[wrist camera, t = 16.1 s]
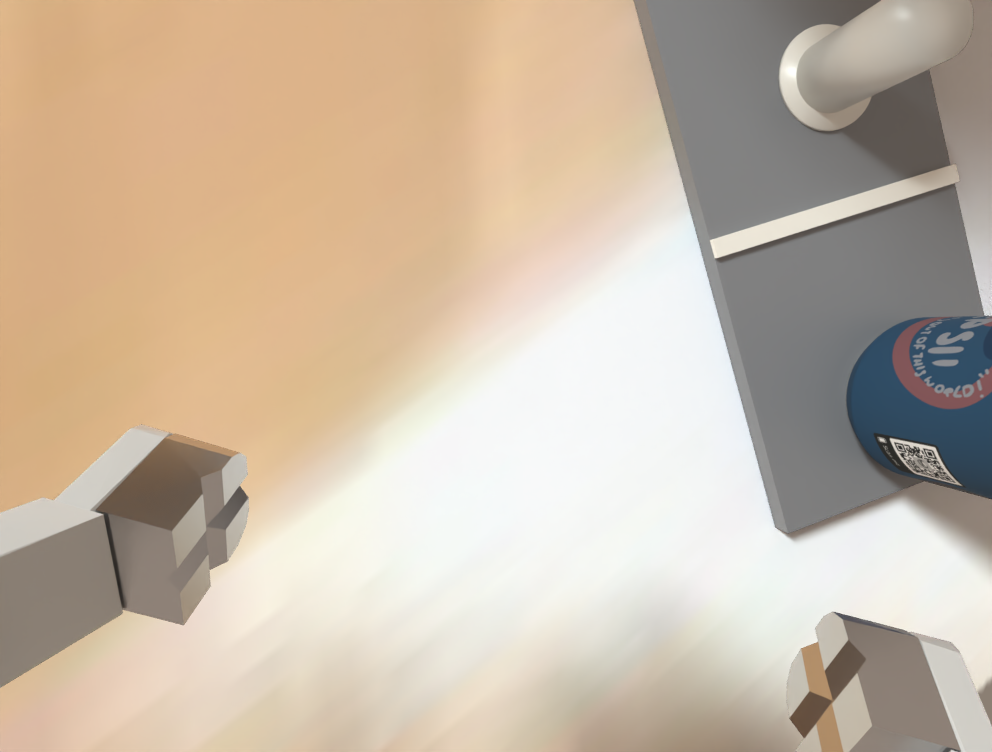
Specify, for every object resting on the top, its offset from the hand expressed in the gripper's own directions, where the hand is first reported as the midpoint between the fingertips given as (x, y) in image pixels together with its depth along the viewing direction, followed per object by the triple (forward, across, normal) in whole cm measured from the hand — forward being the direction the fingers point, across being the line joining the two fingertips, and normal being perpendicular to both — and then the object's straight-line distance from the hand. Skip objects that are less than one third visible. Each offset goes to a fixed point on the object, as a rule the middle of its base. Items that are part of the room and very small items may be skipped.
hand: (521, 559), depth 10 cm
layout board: (+26, -10, +2) cm, 28 cm away
